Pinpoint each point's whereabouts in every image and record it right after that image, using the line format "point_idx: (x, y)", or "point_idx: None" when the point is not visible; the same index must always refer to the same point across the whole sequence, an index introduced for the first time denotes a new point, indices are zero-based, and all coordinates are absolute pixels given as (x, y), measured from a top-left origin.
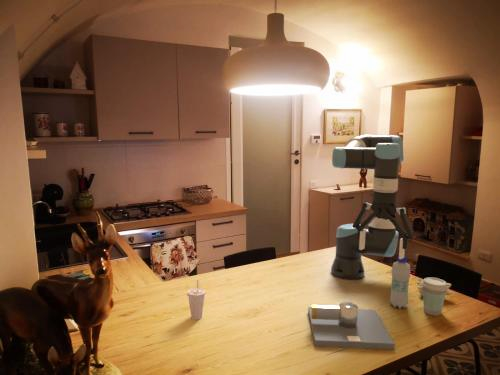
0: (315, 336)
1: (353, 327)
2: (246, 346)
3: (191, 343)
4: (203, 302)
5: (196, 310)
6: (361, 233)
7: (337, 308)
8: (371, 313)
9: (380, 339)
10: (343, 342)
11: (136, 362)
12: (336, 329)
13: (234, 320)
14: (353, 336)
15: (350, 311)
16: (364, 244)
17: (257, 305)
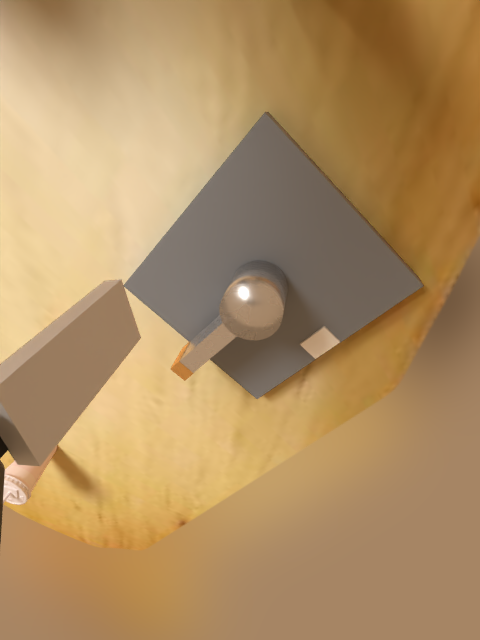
0: (246, 388)
1: None
2: (178, 456)
3: (124, 490)
4: (32, 466)
5: (45, 467)
6: (49, 446)
7: (232, 338)
8: (273, 158)
9: (378, 295)
10: (306, 363)
11: (132, 540)
12: None
13: (87, 414)
14: (314, 336)
15: (273, 331)
16: (105, 303)
17: None
